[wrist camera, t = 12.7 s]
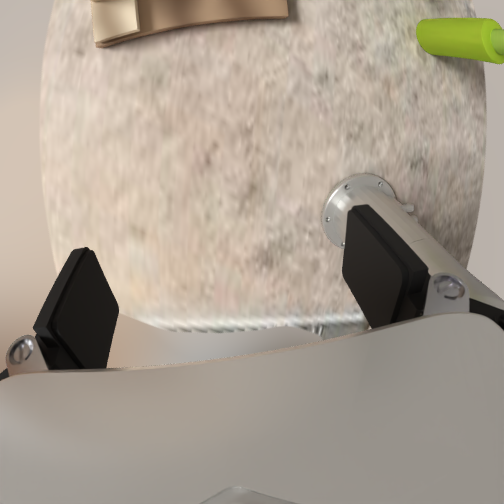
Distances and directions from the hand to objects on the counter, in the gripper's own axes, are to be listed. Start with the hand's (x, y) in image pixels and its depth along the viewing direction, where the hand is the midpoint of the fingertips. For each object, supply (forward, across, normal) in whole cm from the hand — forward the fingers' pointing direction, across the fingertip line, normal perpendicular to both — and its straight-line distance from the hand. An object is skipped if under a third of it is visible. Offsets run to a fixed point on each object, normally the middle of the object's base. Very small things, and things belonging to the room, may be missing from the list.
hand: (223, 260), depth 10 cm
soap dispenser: (+28, -32, -13) cm, 45 cm away
